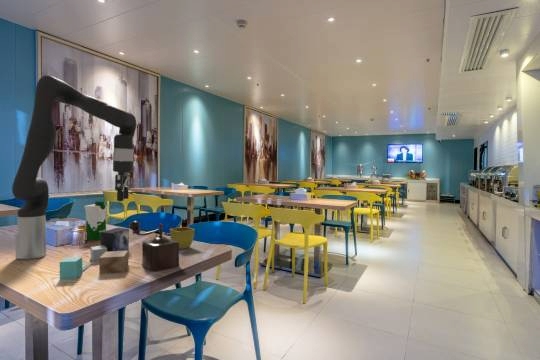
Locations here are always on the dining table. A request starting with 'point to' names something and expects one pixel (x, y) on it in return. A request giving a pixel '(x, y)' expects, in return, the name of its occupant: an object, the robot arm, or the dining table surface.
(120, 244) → the small box
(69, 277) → the teal block
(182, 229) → the flower pot
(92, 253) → the grey block
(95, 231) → the milk carton
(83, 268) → the tile
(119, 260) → the walnut base
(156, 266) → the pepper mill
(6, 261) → the dining table surface
